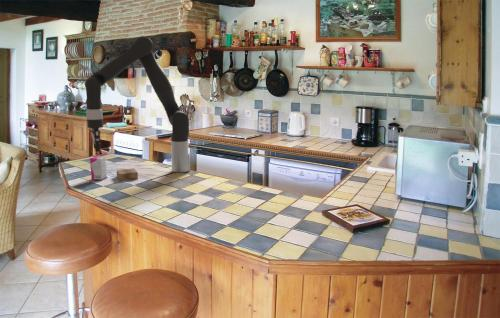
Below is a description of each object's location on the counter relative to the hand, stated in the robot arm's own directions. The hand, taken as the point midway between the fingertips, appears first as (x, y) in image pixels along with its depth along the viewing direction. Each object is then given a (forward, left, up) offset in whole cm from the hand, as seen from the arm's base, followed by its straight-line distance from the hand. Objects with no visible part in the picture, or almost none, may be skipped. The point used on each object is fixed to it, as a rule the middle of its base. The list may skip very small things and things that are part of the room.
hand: (96, 149), depth 207 cm
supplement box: (0, 0, -16) cm, 16 cm away
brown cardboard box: (-14, +3, -16) cm, 21 cm away
